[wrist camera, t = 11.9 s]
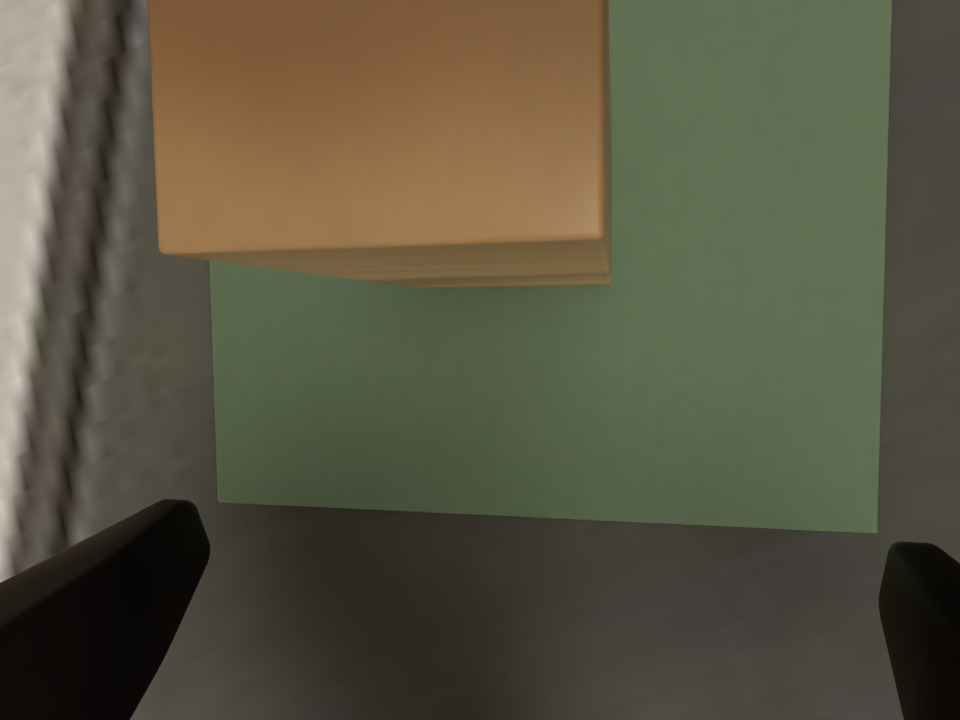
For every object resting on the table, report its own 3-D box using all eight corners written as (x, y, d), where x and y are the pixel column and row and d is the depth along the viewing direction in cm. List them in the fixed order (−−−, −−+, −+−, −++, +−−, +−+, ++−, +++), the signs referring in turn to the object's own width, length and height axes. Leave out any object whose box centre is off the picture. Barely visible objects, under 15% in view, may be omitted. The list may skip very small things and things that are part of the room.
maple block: (611, 284, 20) (604, 239, 8) (424, 288, 21) (155, 254, 9) (611, 107, 20) (604, -236, 7) (420, 120, 21) (137, -159, 8)
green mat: (873, 530, 19) (877, 533, 19) (222, 500, 23) (217, 502, 23) (888, -26, 18) (893, -31, 18) (206, 40, 22) (200, 36, 22)
